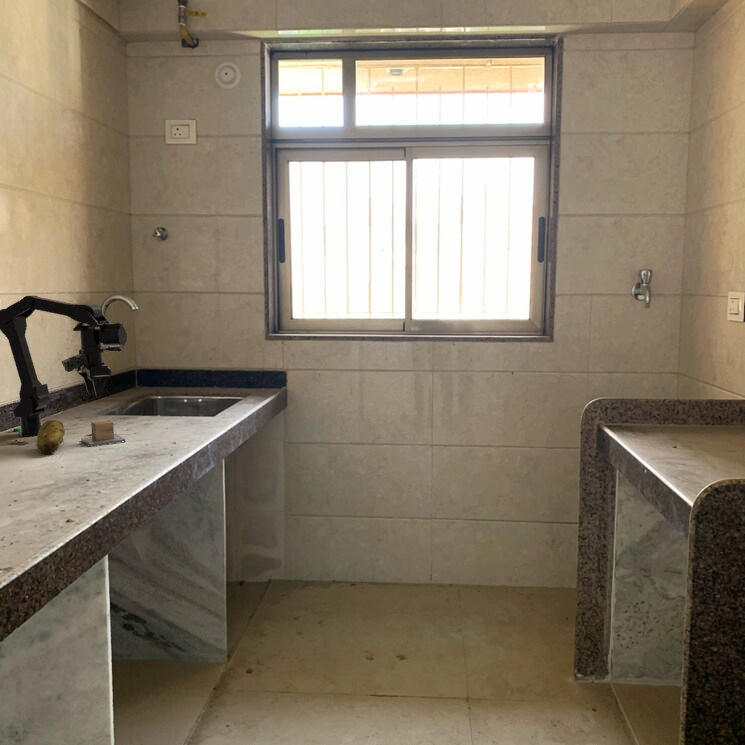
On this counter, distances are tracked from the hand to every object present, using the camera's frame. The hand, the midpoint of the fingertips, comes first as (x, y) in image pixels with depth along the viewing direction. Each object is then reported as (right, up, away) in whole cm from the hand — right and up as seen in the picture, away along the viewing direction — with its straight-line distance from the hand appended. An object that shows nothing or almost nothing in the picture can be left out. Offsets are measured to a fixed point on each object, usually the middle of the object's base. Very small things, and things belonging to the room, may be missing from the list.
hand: (94, 396), depth 219 cm
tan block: (+6, -12, -8) cm, 16 cm away
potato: (-5, -15, -19) cm, 24 cm away
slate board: (+6, -13, -8) cm, 16 cm away
